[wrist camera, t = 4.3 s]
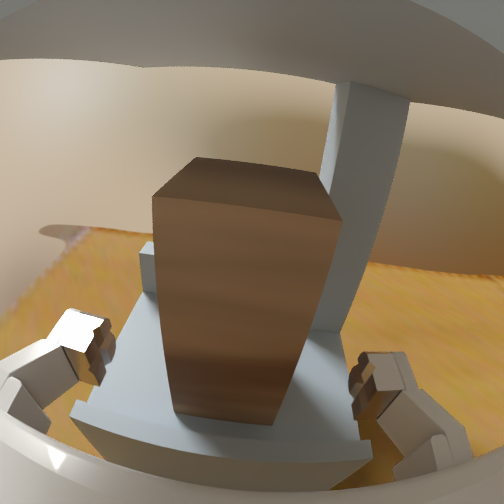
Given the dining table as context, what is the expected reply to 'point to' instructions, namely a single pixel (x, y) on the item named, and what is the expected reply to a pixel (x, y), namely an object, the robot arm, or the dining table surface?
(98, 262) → the dining table surface
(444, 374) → the dining table surface
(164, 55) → the grey cantilever stand
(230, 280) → the walnut block
